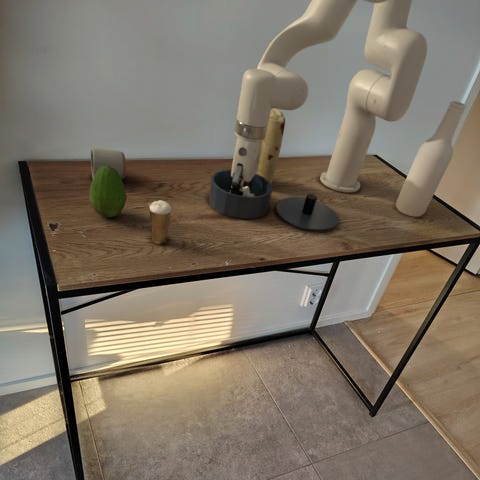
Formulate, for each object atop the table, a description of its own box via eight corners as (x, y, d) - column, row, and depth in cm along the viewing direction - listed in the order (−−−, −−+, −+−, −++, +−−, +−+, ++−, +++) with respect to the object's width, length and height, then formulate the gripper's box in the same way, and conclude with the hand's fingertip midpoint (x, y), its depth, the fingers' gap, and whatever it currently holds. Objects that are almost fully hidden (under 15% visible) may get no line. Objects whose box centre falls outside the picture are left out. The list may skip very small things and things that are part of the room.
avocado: (115, 227, 99) (114, 176, 91) (84, 217, 99) (79, 166, 91) (132, 212, 104) (132, 163, 96) (102, 202, 105) (99, 154, 97)
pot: (219, 184, 123) (222, 163, 119) (273, 199, 121) (278, 179, 117) (200, 207, 111) (202, 186, 107) (259, 225, 110) (263, 203, 106)
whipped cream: (230, 212, 113) (233, 196, 109) (219, 197, 117) (221, 181, 113) (257, 207, 116) (260, 191, 112) (246, 193, 120) (248, 177, 116)
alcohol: (390, 208, 129) (436, 100, 109) (400, 199, 135) (446, 95, 115) (417, 220, 126) (471, 111, 106) (427, 211, 132) (479, 106, 112)
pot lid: (282, 194, 124) (287, 175, 121) (340, 211, 122) (346, 192, 119) (269, 221, 112) (273, 200, 108) (332, 239, 110) (339, 219, 106)
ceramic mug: (127, 184, 114) (126, 155, 109) (94, 185, 111) (92, 155, 106) (120, 167, 121) (119, 139, 116) (89, 167, 118) (87, 138, 113)
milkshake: (147, 232, 99) (148, 192, 92) (170, 236, 99) (173, 196, 93) (143, 243, 96) (143, 202, 89) (167, 247, 96) (170, 206, 89)
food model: (276, 190, 126) (293, 118, 112) (255, 190, 123) (269, 117, 110) (265, 175, 132) (280, 105, 119) (244, 174, 130) (257, 103, 117)
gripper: (256, 145, 96) (243, 216, 108) (274, 123, 109) (260, 189, 121) (224, 136, 97) (214, 208, 109) (246, 115, 110) (235, 181, 122)
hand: (239, 197), depth 115 cm, fingers closed on whipped cream, 7 cm apart
